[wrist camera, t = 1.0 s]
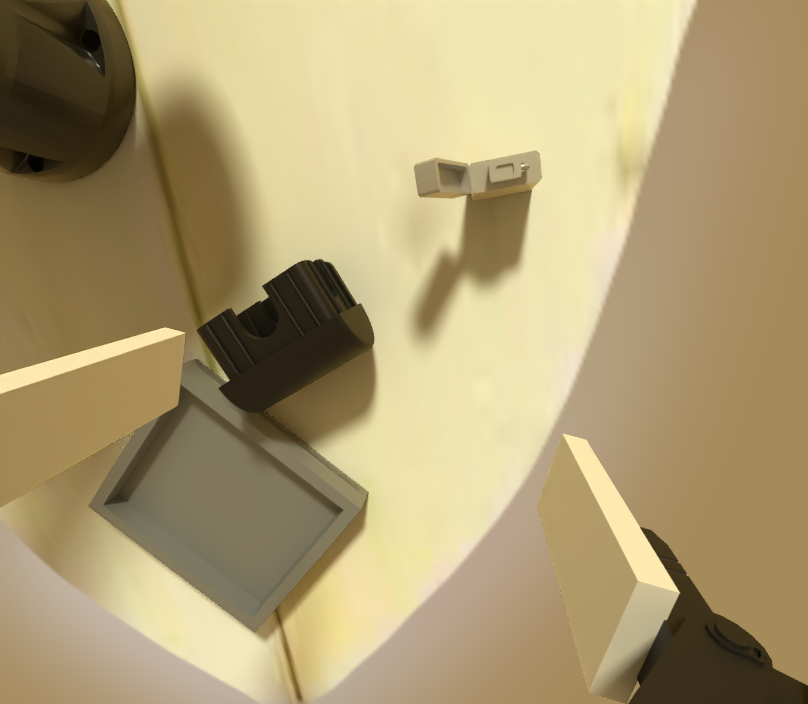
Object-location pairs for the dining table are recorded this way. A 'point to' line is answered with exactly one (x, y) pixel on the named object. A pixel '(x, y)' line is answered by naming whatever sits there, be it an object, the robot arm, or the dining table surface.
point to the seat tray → (227, 498)
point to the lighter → (478, 177)
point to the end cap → (288, 336)
